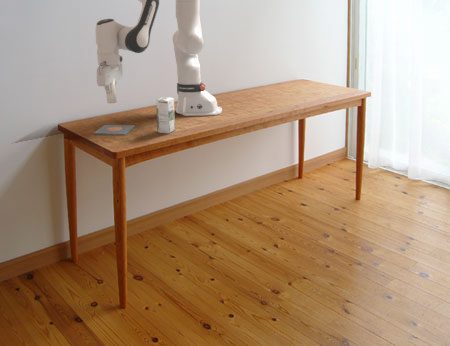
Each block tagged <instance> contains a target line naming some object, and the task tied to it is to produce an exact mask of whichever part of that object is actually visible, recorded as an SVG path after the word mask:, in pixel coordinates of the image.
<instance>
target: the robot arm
mask: <svg viewBox="0 0 450 346" xmlns="http://www.w3.org/2000/svg"><path fill="white" fill-rule="evenodd" d="M200 1H201V0H175V18H176V23H177V30H176V31H175V32H174V34H173V35H172V43H173V50H174V58H175V62H176V70H177V71H176V72H177V74H176V75H177V83H176V92H177V105H176V109H175V113H177V114H178V115H179V114H180V115H182V116H184V117H193V116H195V117H196V116H201V117H202V116H218V115H219V114H221V113H222V112H223V108H222V107H221V106H218V102H217V98H216V97H215V96H214V95H212V93H210V92H209V91H207V90H206V82H204V83H203V82H202V79H201V78H202V77H201V72H202V71H201V64H200V61H199V55H198V54H199V53H201V52H202V51H203V49H204V46H205V41H204V38H203V29H202V22H201V16H200V15H201V14H200V11H201V8H200V7H201V5H200V4H201V2H200ZM138 2H140V3H141V5H142V7H141V10H140V14H139V18H138V19H137V23H136V25H134V26H133V27H132V26H126V25H123V24H120V22H117V21H116V20H115V19H113V18H106V19H101V20H99V21H97V22H96V24H95V43H96V45H97V48H96V49H97V50H96V55H97V57H96V58H97V65H99V66H97V68H96V84H97V86H98V87H104V89H105V90H104V91H105V95H106V94H111V90H110V84H111V83H112V82H113V81H114V79H115V88H116V87H117V83H118V80H120V79H122V77H123V61H124V60H123V59H124V58H123V56H122V55H120V54H119V53H120V52H119V50H124V51H130V52H132V53H137V54H141V53H143V52H145V51H146V49H148V48H149V45H150V38H151V32H152V28H153V26H154V23H155V20H156V16H157V12H158V10H159V6H160V0H138ZM116 89H117V88H116Z"/></svg>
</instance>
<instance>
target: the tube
mask: <svg viewBox="0 0 450 346" xmlns="http://www.w3.org/2000/svg"><path fill="white" fill-rule="evenodd" d="M110 90H111V94H106V93H105V95H106V103H107V104H116V103H117V92H116V91H117V88H115V79H114V81H113V82H112V83H111V84H110Z"/></svg>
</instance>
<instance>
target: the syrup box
mask: <svg viewBox="0 0 450 346" xmlns="http://www.w3.org/2000/svg"><path fill="white" fill-rule="evenodd" d="M155 102H156V104H155V105H156V106H155V107H156V108H155V109H156V127H157V133H159V134H171V133H173V132H175V131H176V121H175V120H176V118H175V116H176V115H175V98H174V97H167V96H163V97H160V98H158V99H156V100H155Z"/></svg>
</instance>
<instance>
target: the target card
mask: <svg viewBox="0 0 450 346" xmlns="http://www.w3.org/2000/svg"><path fill="white" fill-rule="evenodd" d="M135 128H136V126H135V125H128V124H126V125H125V124H123V125H121V124H118V125H117V124H104V125H103V126H101V127H100V128H98V129H97V130H95V131H94V132H93V135H107V136H112V135H113V136H126V135H127V134H128V133H130V132H131V131H132V130H134V129H135Z"/></svg>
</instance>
